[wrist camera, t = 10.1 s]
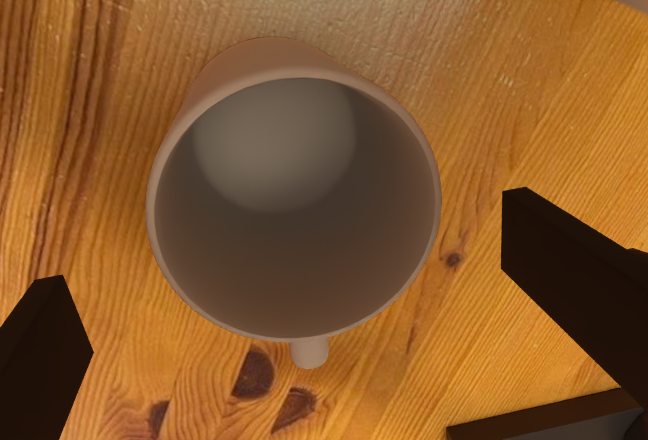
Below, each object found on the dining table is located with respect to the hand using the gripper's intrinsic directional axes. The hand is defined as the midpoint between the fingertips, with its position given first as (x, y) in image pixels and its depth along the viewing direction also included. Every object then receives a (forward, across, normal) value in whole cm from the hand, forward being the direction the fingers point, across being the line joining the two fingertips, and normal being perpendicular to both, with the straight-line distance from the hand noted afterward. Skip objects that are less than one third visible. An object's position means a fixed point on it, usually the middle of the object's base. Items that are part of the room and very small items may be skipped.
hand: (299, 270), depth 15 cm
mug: (+11, 0, 0) cm, 11 cm away
